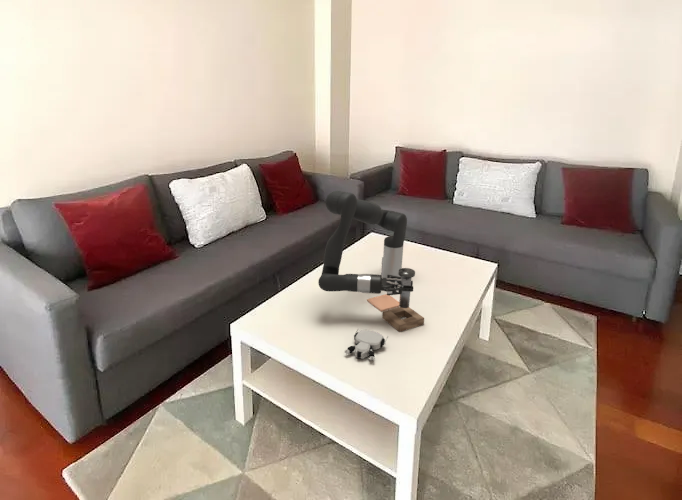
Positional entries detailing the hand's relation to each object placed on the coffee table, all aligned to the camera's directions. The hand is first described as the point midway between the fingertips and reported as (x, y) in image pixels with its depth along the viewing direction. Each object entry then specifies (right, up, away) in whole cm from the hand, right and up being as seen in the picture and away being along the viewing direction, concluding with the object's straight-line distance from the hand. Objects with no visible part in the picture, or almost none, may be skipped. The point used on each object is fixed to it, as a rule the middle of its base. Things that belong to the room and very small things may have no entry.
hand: (412, 286), depth 181 cm
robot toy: (-19, -23, -13) cm, 32 cm away
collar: (-3, -15, +6) cm, 16 cm away
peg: (-3, -8, +4) cm, 9 cm away
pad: (-9, -9, +20) cm, 24 cm away
